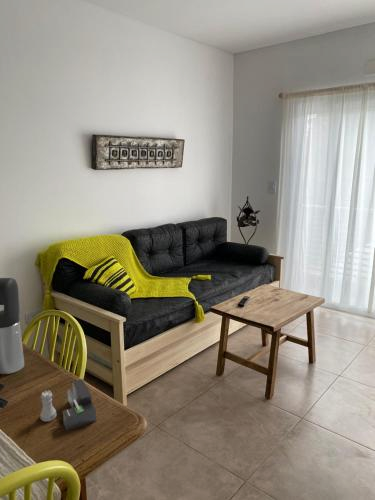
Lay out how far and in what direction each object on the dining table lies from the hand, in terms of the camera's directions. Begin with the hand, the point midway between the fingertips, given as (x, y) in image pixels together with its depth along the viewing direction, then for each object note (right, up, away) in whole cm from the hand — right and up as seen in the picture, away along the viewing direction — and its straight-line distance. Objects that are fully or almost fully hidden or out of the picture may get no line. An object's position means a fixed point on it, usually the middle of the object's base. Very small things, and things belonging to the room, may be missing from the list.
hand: (3, 396), depth 105 cm
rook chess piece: (+9, -9, +8) cm, 15 cm away
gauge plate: (+16, -7, +9) cm, 20 cm away
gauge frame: (+16, -8, +10) cm, 21 cm away
